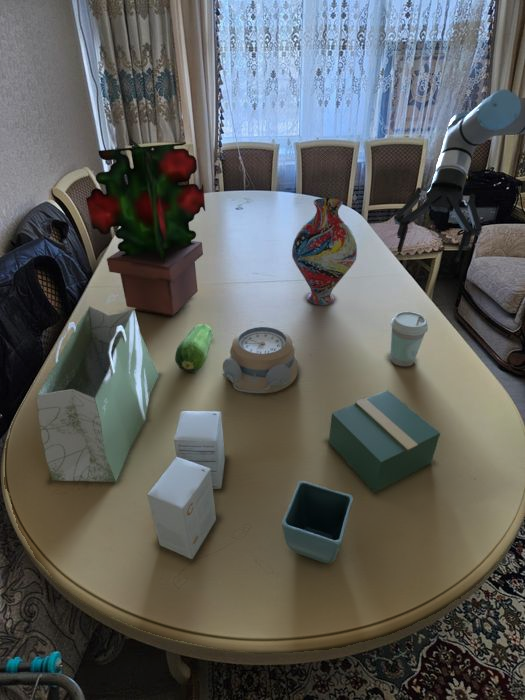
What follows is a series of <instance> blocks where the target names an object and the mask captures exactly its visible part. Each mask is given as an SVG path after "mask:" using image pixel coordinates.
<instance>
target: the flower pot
mask: <svg viewBox="0 0 525 700" xmlns="http://www.w3.org/2000/svg"><path fill="white" fill-rule="evenodd" d="M353 498H354V497H353V495H351V494H348V493H344V492H341V491H337V490H334V489H330V488H327V487H324V486H321V485H317V484H314V483H311V482H307V481H304V480H299V481H298V482H297V485H296V487H295V490H294V492H293V495H292V498H291V500H290V502H289V505H288V507H287V509H286V512H285V515H284V516H283V519H282V521H281V524H282V532H283V535H284V541H285V544H286V545H287V547H288V548H289V549H290V550H291V551H292V552H295V553H296V554H298V555H301V556H304V557H306V558H309V559H311V560H316V561H318V562H321V563H324V564H329V563H332V562H334V561H335V560H336V558H337V557H338V554H339V550H340V549H341V548H340V547H341V544H342V542H343V538H344V533H345V529H346V527H347V521H348V518H349V514H350V512H351V511H350V510H351V508H352V504H353V501H354V499H353Z"/></svg>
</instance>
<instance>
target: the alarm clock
mask: <svg viewBox="0 0 525 700" xmlns="http://www.w3.org/2000/svg"><path fill="white" fill-rule="evenodd" d="M295 350H296V349H295V346H294V344H293V339H292V338H291V337H290V335H288V333H286V332H284V331H282V330H280V329H278V328H275V327H267V326H259V327H258V326H257V327H252V328H247V329H245V330H242V331H240V332H239V333H238V334H237V335H235V337H234V338H233V339H232V343H231V345H230V350H229V352H230V355H229V357H228V358H225V359H224V361H223V363H222V370H223V373H222V377H226V378H227V379H228V380H229V381H231V383H232V386H233V388H234V389H235V390H237V391H238V392H239V391H240V392H243V393H247V394H249V393H250V394H270V393H276V392H279V391H282V390H284V389H286V388H287V387H289V386H290V385H291V384H293V382H295V380H296V378H297V376H298V364H299V363H298V362H299V361H298V359H297V356H296V354H295V352H296V351H295Z"/></svg>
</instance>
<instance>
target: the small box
mask: <svg viewBox="0 0 525 700" xmlns="http://www.w3.org/2000/svg"><path fill="white" fill-rule="evenodd" d="M146 497H147V499H148V504H149V508H150V511H151V515H152V520H153V524H154V529H155V531H156V535H157V540H158V544H159V546H161V547H163V548H165V549H168V550H170V551H172V552H175V553H176V554H179V555H181V556H183V557H185V558H188V559H190V560H193V559H194V558H195V556H196V554H197V553H198V551H199V550H200V548H201V546H202V544H203V543H204V541H205V540H206V538H207V536H208V534H209V532H210V531H211V529H212V528H213V526H214V524H215V523H216V521H217V514H216V506H215V497H214V489H213V487H212V478H211V469H210V468H207V467H204V466H202V465H199V464H196V463H193V462H190V461H188V460H185V459H182V458H179V457H177V456H176V457H175V458H174V459H173V460H172V462H171V463H170V464H169V466H167V468H166V469H165V471H163V473H162V474H161V476H160V477H159V479H158V480H156V482H155V484H154V485H153V486H152V487H151V488H150V490H149V491H148V492H147V494H146Z"/></svg>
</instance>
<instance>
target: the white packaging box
mask: <svg viewBox="0 0 525 700" xmlns="http://www.w3.org/2000/svg"><path fill="white" fill-rule="evenodd" d="M174 433H175V434H174V437H173V443H174V444H173V445H174V448H175V455H176V457H179V458H182V459H185V460H188V461H190V462H193V463H196V464H199V465H202V466H204V467H207V468H210V469H211V478H212V487H213V490H220V489H222V485H223V479H224V471H225V470H224V469H225V461H226V457H225V446H224V433H223V421H222V411H207V410H206V411H204V410H203V411H201V410H200V411H199V410H195V411H193V410H186V411H184V410H183V411H180V414H179V418H178V422H177V426H176V429H175V432H174Z"/></svg>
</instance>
